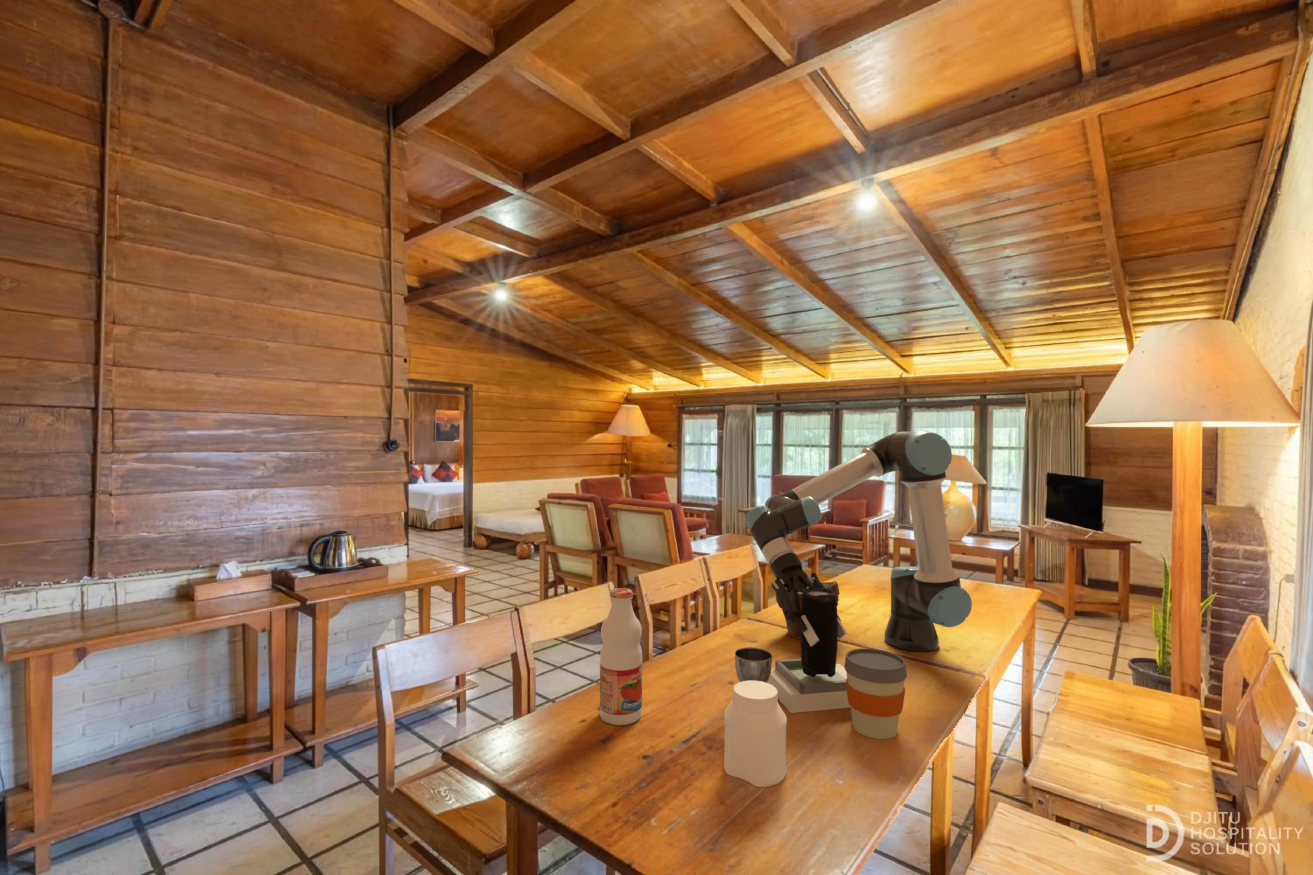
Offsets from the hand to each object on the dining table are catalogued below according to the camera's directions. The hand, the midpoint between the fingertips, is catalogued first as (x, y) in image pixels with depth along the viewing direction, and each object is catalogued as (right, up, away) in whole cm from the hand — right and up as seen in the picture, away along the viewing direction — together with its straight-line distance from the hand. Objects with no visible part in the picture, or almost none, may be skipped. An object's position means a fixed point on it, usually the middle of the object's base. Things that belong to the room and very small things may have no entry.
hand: (829, 639), depth 137 cm
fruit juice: (-49, -15, -8) cm, 51 cm away
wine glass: (-20, -15, -10) cm, 27 cm away
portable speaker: (-2, -9, +3) cm, 10 cm away
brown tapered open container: (+7, -15, +46) cm, 49 cm away
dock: (+1, -15, +4) cm, 15 cm away
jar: (-22, -15, -28) cm, 39 cm away
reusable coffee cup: (+6, -15, -12) cm, 20 cm away
